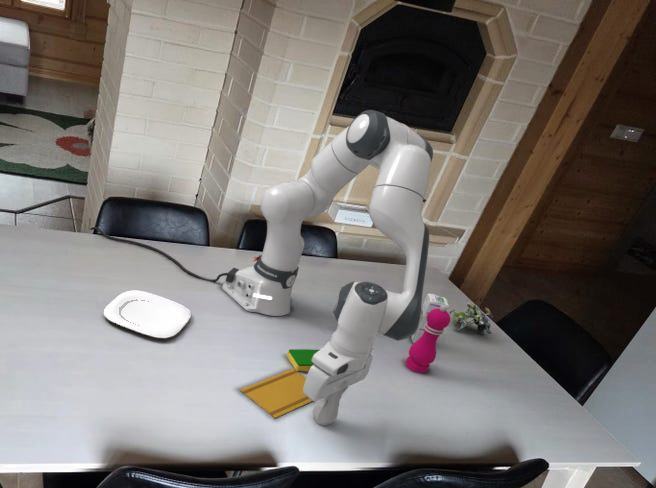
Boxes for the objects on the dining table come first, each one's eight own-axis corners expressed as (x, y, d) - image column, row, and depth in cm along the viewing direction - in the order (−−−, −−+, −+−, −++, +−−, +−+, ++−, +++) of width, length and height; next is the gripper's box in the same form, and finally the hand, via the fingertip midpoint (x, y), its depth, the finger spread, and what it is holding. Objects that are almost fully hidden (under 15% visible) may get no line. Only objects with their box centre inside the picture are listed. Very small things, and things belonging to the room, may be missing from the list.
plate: (94, 320, 172) (94, 315, 171) (129, 290, 190) (129, 285, 189) (168, 348, 168) (169, 342, 167) (196, 314, 185) (198, 309, 184)
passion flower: (470, 346, 211) (502, 333, 201) (446, 341, 206) (478, 327, 196) (463, 315, 215) (494, 300, 205) (440, 309, 210) (470, 294, 200)
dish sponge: (286, 356, 175) (288, 348, 173) (331, 356, 179) (334, 349, 177) (296, 371, 169) (298, 364, 168) (342, 371, 173) (345, 364, 172)
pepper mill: (428, 364, 185) (457, 304, 174) (428, 377, 179) (458, 315, 168) (403, 356, 186) (431, 296, 175) (403, 368, 180) (431, 307, 169)
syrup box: (430, 347, 194) (450, 305, 186) (411, 342, 194) (430, 300, 186) (428, 338, 198) (447, 297, 190) (409, 333, 199) (427, 292, 191)
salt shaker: (307, 411, 155) (323, 367, 148) (329, 413, 156) (347, 369, 149) (313, 427, 150) (331, 382, 143) (337, 429, 151) (355, 385, 144)
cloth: (239, 390, 157) (239, 389, 157) (292, 369, 170) (292, 368, 169) (275, 418, 151) (275, 417, 150) (327, 394, 163) (327, 393, 163)
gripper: (363, 335, 151) (344, 383, 158) (308, 357, 138) (290, 407, 146) (385, 349, 147) (365, 397, 155) (330, 372, 135) (311, 423, 142)
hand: (328, 402), depth 150 cm, fingers open, 4 cm apart
